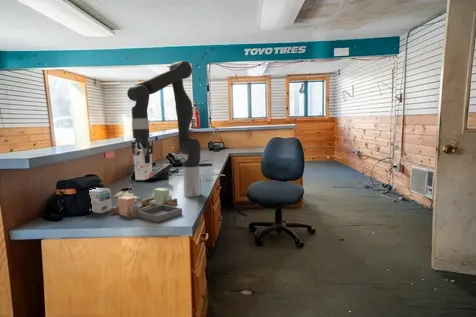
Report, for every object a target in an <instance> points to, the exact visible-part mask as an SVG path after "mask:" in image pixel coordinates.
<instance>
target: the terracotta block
mask: <svg viewBox="0 0 476 317" xmlns="http://www.w3.org/2000/svg"><path fill="white" fill-rule="evenodd" d="M118 202H119V213H118V214H119V215H121V216H124V217H127V212H129V211H131V206H133V205H135V202H136V197H133V196H128V195H123V196H119V197H118Z"/></svg>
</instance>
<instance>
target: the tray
mask: <svg viewBox="0 0 476 317" xmlns="http://www.w3.org/2000/svg"><path fill="white" fill-rule="evenodd" d="M180 216H183V209H182V208H180V207H176V206H168V205H163V204H162V205H158V206H155V207H151V208H148V209H145V210H141V211H138V217H137V218H138V219H139V220H144V221H147V222H151V223H155V224H160V223H163V222H166V221H168V220H171V219H175V218H176V217H180Z"/></svg>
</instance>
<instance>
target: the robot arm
mask: <svg viewBox="0 0 476 317" xmlns="http://www.w3.org/2000/svg"><path fill="white" fill-rule="evenodd" d="M192 72H193V68H192V65H191V64H190V62H188V61H185V60H180V61H177V62H173V63H171V64H170V66H169V70H168V71H166V72H162V73H160V74H156V75H154V76H152V77H151V78H150V77H149V78H148V79H146V80H145V81H143V82H140V83H136V84H134V85H132V86H130V87H129V88H128V90H127V92H126V93H127V97H128V99H129V100H130V101H133V102H135V105H134V106H132V107H131V118H132V119H131V120H132V121H131V126H132V127H131V128H132V138H133V139H134V141H133V140H132V141H131V151H132V154H133V155H134V156H136V155H140V154H142V151H141V150H142V149H143V151H144V154H145V163H150V154H151V155H153V153H154V151H153V150H154V149H153V148H154V145H153V144H154V142H153V141H152V140H151V141H149V138H150V136H151V135H150V126H149V116H148V108H149V102H150V95H153V94H155V93H158V92H159V91H161V90H163V89H165V88H166V87H169V86H170V85H172V90H173V96H174V101H175V102H174V103H175V111H176V112H175V113H176V119H177V129H178V130H177V131H178V148H179V151H180V153H182V154H183V155H187V159H186V160H184V161H183V162H182V170H183V171H182V172H183V173H182V174H183V190H184V192H183V194H184V197H186V198H196V197H199V196H201V195H202V193H203V192H202V178H200V177H201V175H200V162H201V143H200V141H199V140H198V138H191V137H190V126H191V123H192V120H193V117H194V109H193V102H192V101H191V98H190V97H189V95H188V94H187V92H186V90H185V87H184V81H183V80H185V79H188V78H190V77H191V75H192ZM146 148H147V149H146ZM149 150H150V151H149ZM146 152H147V153H146Z"/></svg>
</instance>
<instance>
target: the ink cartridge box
mask: <svg viewBox="0 0 476 317" xmlns="http://www.w3.org/2000/svg"><path fill="white" fill-rule="evenodd" d="M146 149H147V148H146ZM149 151H150V150H149ZM146 153H147V151H146ZM132 157H133V164H134V175H135V177H134V178H135V181H145V180H148V179H150V178H153V158H152V154H150V163H145V154H144V151H143V149H142V150H141V154H140V155H133V156H132Z"/></svg>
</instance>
